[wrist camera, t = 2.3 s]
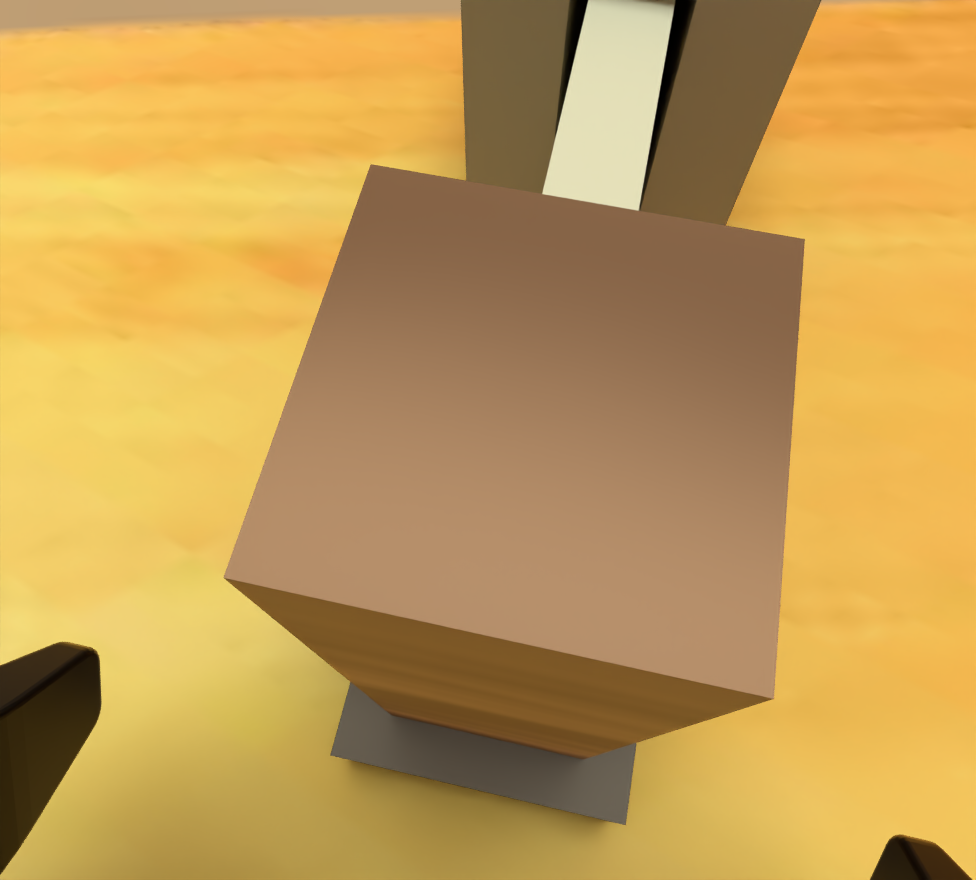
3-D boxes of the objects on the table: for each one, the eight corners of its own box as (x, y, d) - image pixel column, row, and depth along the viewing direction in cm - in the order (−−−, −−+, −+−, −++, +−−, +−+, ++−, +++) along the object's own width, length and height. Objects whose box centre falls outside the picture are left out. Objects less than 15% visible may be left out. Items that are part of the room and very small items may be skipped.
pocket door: (563, 514, 20) (620, 310, 11) (504, 502, 20) (518, 292, 12) (611, 256, 23) (684, -51, 15) (560, 247, 23) (603, -63, 15)
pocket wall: (679, 333, 23) (837, -38, 13) (469, 294, 23) (458, -92, 13) (710, 109, 26) (853, -322, 16) (527, 80, 27) (552, -357, 17)
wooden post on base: (607, 820, 18) (922, 895, 5) (349, 759, 18) (35, 687, 6) (643, 565, 20) (919, 173, 7) (414, 516, 21) (300, 71, 8)
